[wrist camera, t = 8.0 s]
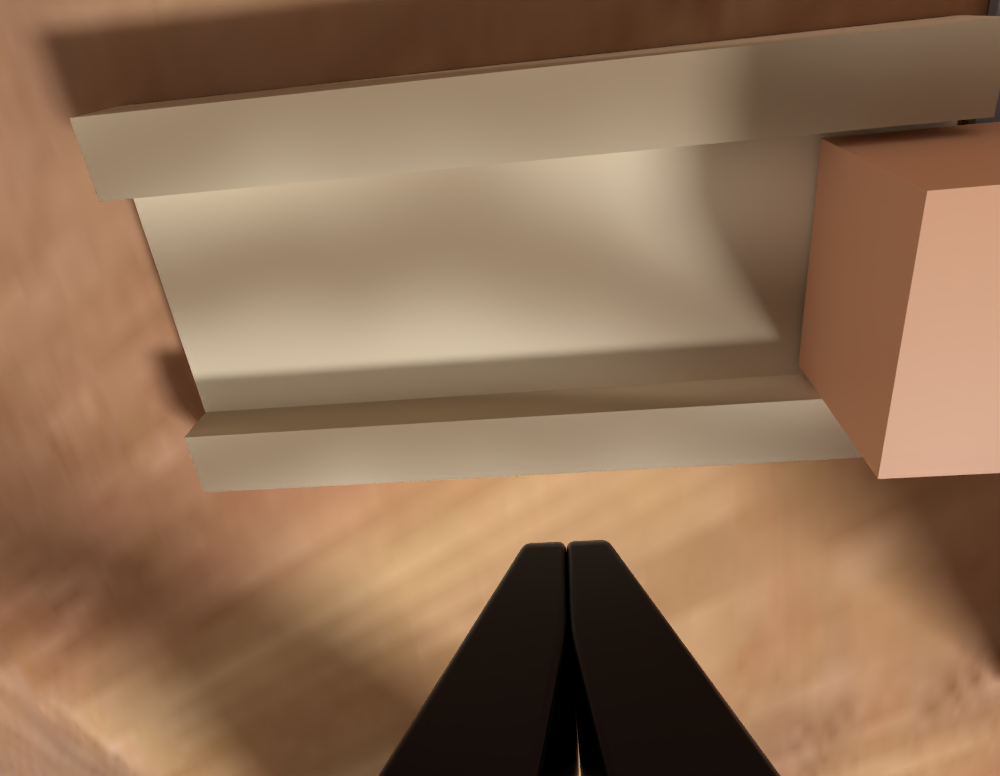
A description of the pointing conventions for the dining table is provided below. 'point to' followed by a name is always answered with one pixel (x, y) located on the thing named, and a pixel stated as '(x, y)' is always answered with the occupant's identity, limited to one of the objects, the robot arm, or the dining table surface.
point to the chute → (517, 252)
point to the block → (909, 297)
